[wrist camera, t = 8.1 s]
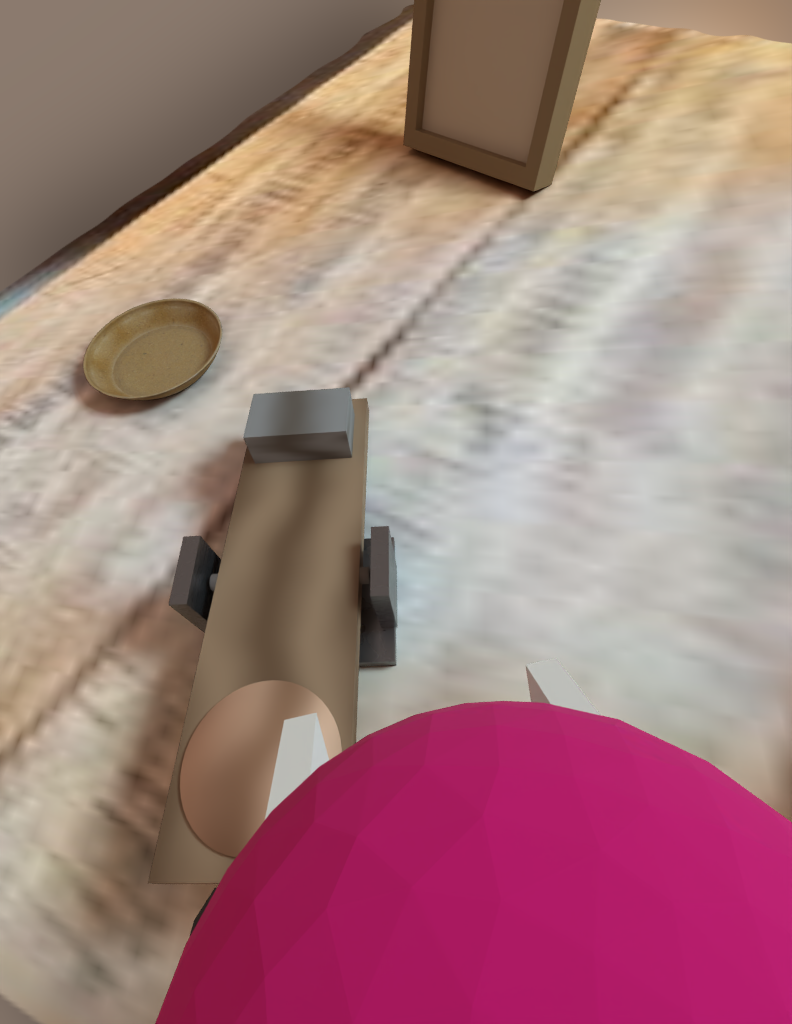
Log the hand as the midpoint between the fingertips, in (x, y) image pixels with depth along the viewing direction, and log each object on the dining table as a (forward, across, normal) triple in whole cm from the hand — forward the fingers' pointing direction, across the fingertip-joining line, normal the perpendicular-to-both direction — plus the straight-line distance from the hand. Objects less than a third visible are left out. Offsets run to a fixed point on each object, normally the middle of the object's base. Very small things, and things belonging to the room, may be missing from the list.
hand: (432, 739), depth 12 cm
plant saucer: (+51, -19, +15) cm, 56 cm away
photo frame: (+70, +27, +36) cm, 83 cm away
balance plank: (+25, -7, -4) cm, 26 cm away
